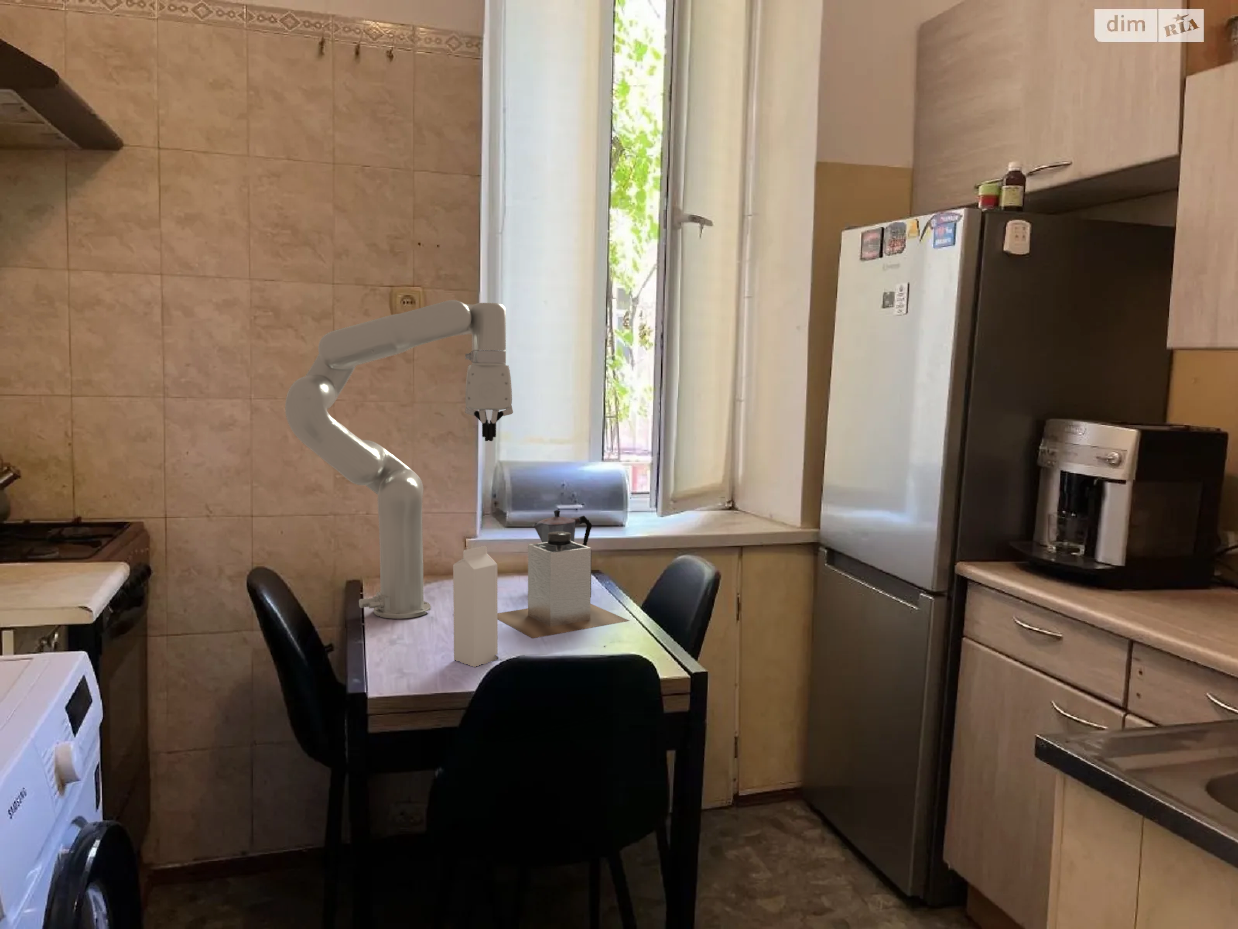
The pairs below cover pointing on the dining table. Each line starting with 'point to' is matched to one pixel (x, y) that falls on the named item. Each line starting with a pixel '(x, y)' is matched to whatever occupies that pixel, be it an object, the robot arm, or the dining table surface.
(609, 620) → the walnut board
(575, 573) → the open box
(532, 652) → the dining table surface
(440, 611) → the dining table surface
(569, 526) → the moka pot
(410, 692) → the dining table surface
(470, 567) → the milk
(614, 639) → the dining table surface
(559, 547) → the plunger
